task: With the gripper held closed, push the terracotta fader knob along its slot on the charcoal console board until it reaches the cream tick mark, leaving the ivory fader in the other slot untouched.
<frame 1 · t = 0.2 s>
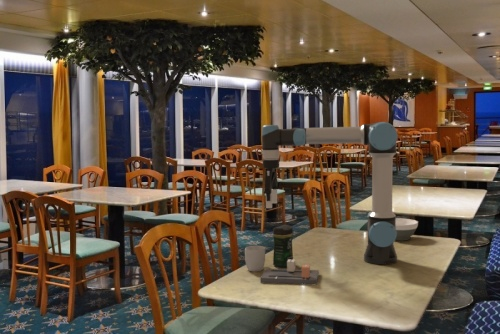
hand: (271, 205, 251), 28 cm above the table, fingers open, 13 cm apart
coffee jar: (283, 265, 253), on the table
mug: (257, 269, 248), on the table
bowl: (399, 239, 301), on the table
fader near: (305, 271, 226), point 5 cm above the table, slide at 0.0 cm
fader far: (291, 265, 236), point 5 cm above the table, slide at 7.0 cm
console board: (290, 278, 232), on the table
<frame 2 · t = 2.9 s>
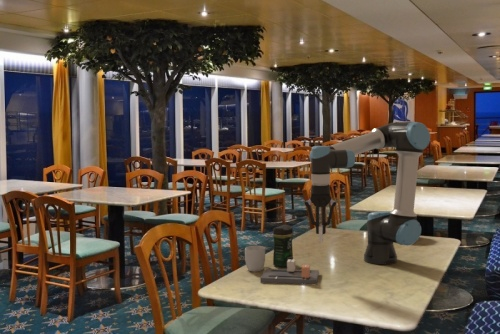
hand: (320, 241, 224), 17 cm above the table, fingers closed
nothing on the table moved.
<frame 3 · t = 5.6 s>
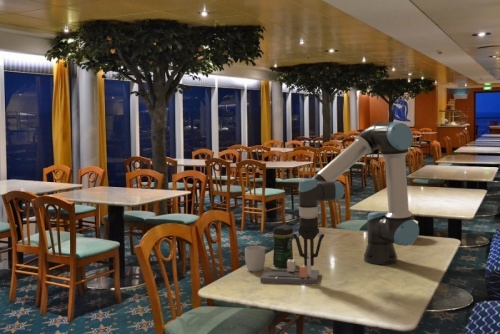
hand: (309, 273, 226), 4 cm above the table, fingers closed
fader near: (303, 270, 227), point 5 cm above the table, slide at 0.9 cm, touching gripper
everything else where it was.
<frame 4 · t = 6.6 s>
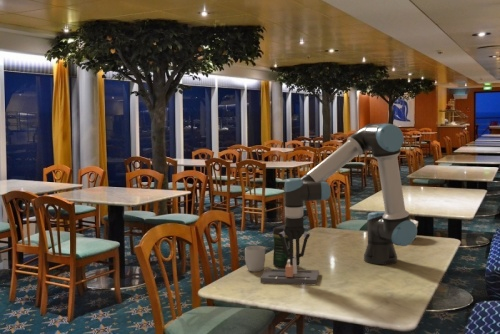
hand: (295, 272, 227), 4 cm above the table, fingers closed
fader near: (289, 270, 228), point 5 cm above the table, slide at 6.7 cm, touching gripper
everything else where it was.
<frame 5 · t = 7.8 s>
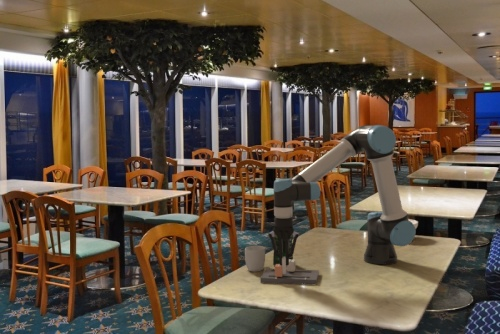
hand: (284, 272, 228), 4 cm above the table, fingers closed
fader near: (279, 270, 229), point 5 cm above the table, slide at 11.1 cm, touching gripper
everything else where it was.
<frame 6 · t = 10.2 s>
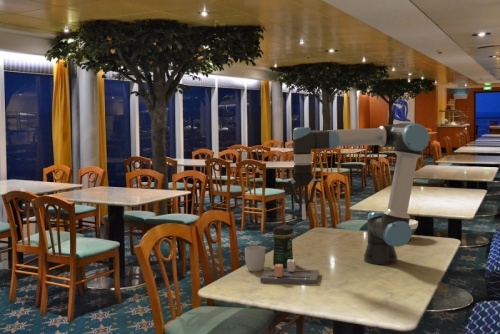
hand: (304, 218, 235), 24 cm above the table, fingers closed
fader near: (278, 270, 229), point 5 cm above the table, slide at 11.2 cm
everything else where it was.
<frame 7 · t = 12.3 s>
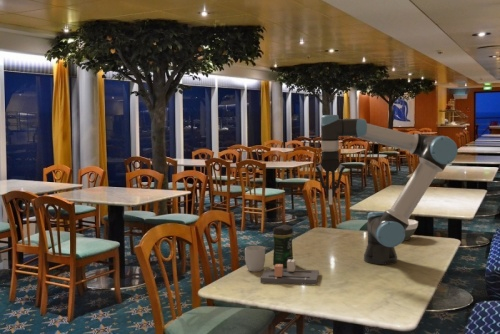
hand: (330, 204, 241), 29 cm above the table, fingers closed
nothing on the table moved.
at the end: fader near slide at 11.2 cm; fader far slide at 7.0 cm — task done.
